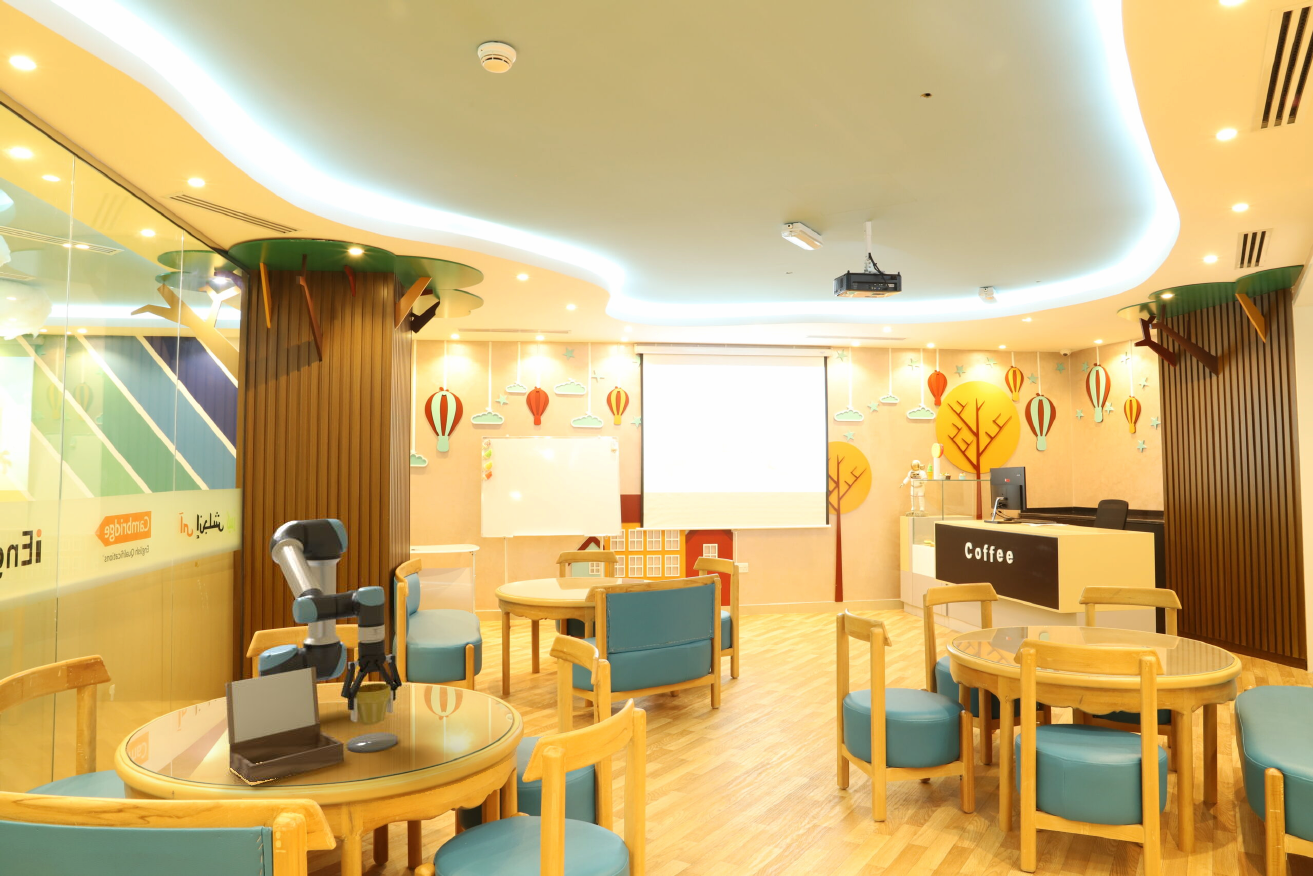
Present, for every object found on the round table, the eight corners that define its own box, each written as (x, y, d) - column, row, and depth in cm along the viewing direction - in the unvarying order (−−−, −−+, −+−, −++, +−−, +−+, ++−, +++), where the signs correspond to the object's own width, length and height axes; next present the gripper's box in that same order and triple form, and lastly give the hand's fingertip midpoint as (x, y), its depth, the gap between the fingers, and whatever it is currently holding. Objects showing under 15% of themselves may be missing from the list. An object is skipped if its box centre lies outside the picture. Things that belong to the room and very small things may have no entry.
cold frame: (229, 770, 219) (229, 744, 219) (318, 748, 236) (318, 723, 236) (250, 786, 207) (250, 758, 207) (343, 761, 224) (343, 735, 224)
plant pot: (378, 727, 232) (378, 692, 232) (346, 726, 234) (346, 691, 234) (397, 716, 242) (397, 683, 242) (366, 715, 244) (365, 682, 245)
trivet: (338, 745, 238) (338, 741, 238) (384, 733, 248) (384, 729, 248) (359, 756, 228) (359, 751, 228) (406, 743, 238) (406, 739, 238)
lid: (225, 741, 222) (225, 682, 223) (314, 721, 239) (313, 666, 239) (230, 744, 219) (230, 684, 220) (319, 724, 236) (319, 668, 237)
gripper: (338, 648, 229) (339, 728, 227) (413, 635, 245) (414, 710, 243) (327, 644, 234) (328, 723, 233) (401, 632, 250) (402, 705, 249)
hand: (372, 716), depth 238 cm, fingers closed on plant pot, 10 cm apart
